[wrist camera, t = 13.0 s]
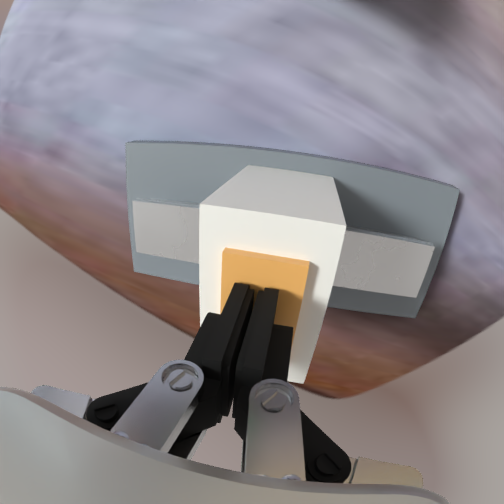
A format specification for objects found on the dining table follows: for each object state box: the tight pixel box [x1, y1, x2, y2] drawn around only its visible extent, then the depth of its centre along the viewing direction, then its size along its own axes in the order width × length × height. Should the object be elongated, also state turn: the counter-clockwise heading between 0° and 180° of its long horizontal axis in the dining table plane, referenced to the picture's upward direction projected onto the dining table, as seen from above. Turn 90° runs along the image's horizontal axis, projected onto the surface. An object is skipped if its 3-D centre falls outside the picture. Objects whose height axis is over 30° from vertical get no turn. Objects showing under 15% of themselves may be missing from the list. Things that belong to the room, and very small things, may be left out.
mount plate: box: [126, 141, 460, 318], centre depth 18 cm, size 22×10×4 cm, turn 85°
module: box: [199, 165, 346, 383], centre depth 15 cm, size 5×8×8 cm, turn 175°
